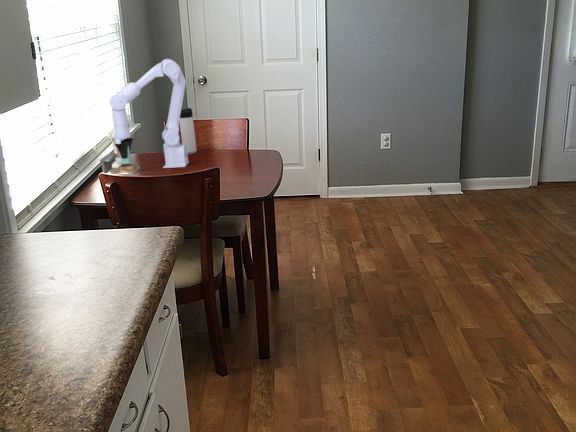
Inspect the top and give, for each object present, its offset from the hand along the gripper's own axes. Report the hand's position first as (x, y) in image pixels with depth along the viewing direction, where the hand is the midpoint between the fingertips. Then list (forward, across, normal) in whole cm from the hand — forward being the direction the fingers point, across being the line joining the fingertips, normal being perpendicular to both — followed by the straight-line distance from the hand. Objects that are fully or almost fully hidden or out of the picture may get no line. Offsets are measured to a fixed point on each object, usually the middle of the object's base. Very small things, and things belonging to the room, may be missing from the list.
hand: (126, 157), depth 269 cm
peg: (+2, 0, 0) cm, 2 cm away
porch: (+6, 0, -3) cm, 7 cm away
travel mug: (+6, -30, +20) cm, 37 cm away
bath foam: (+7, -19, -8) cm, 22 cm away
